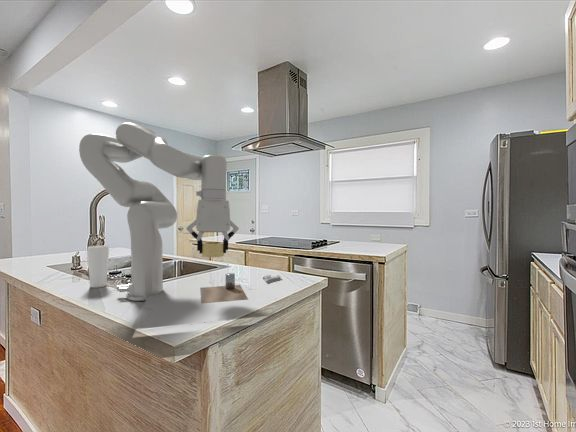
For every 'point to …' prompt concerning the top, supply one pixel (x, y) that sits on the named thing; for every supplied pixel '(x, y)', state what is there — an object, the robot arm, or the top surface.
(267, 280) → the adjustable wrench
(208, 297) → the walnut board
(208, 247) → the brass ring
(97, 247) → the drinking glass
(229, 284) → the steel post
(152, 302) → the top surface
